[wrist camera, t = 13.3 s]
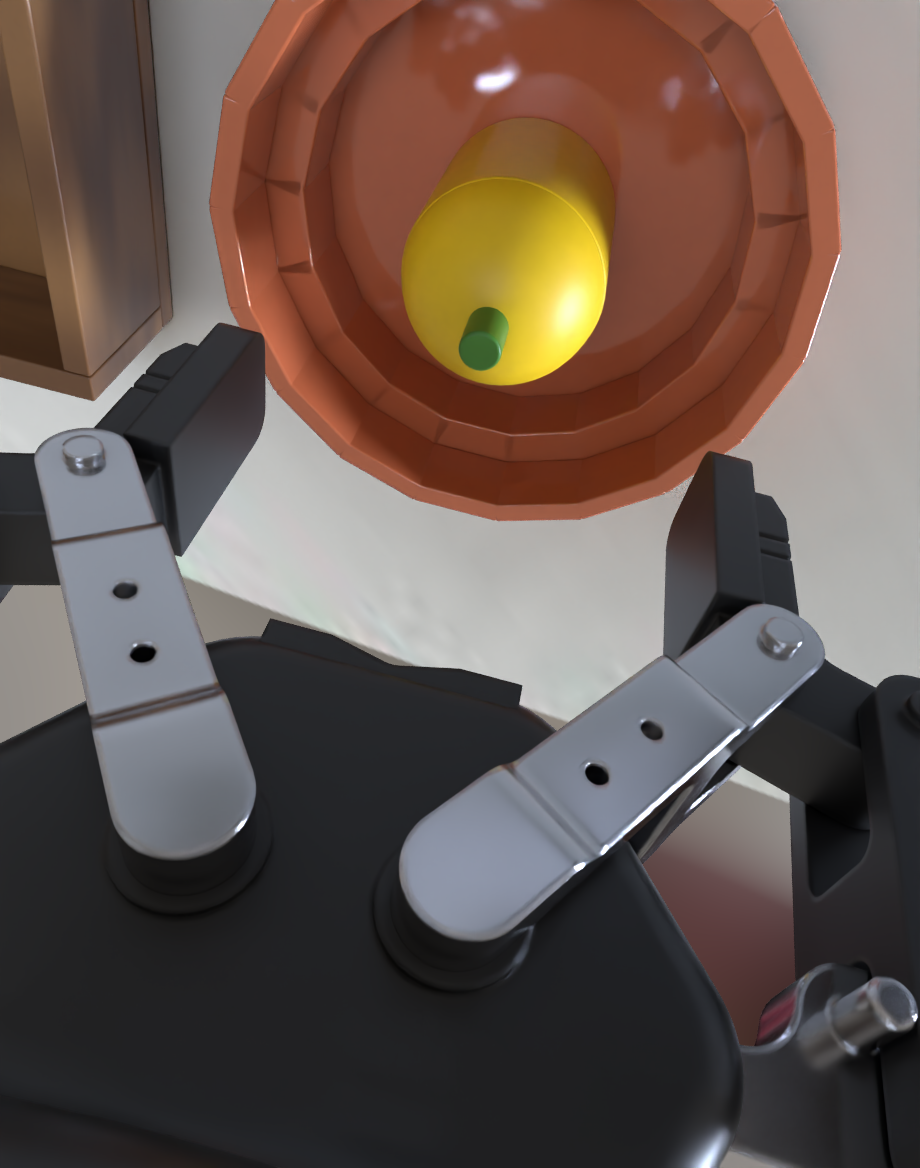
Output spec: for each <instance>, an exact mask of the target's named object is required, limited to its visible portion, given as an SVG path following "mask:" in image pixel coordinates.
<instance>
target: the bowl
mask: <svg viewBox="0 0 920 1168" xmlns="http://www.w3.org/2000/svg"><path fill="white" fill-rule="evenodd" d="M514 118H538V119H544V120H549V121H551V122H554V123H557V124H560V125H562V126H564V127H566V128H568V129H570V130H572V131H573V132H574V133H576V134H577V135H579V136H580V137H581V138H583V139H584V140H585V141H586V142H587V143H588V144H589V145H590V146H591V147H592V148H593V150H594V151H595V152H596V153H597V155H598V156H599V158H600V159H601V161H602V163H603V164H604V166H605V168H606V170H607V172H608V175H609V177H610V180H611V183H612V187H613V191H614V198H615V223H614V232H613V240H612V247H611V255H610V263H609V271H608V279H607V287H606V295H605V301H604V305H603V309H602V313H601V315H600V318H599V320H598V322H597V325H596V326H595V328H594V330H593V332H592V334H591V335H590V337H589V338H588V339H587V340H586V342H585V343H584V344H583V346H582V347H581V348H580V349H579V350H578V351H577V352H576V353H575V354H574V355H573V356H572V357H571V358H570V359H569V360H568V361H567V362H565V363H564V364H563V365H562V366H560V367H559V368H558V369H556V370H554V371H553V372H551V373H549V374H548V375H545V376H543V377H541V378H538V379H536V380H532V381H529V382H525V383H521V384H515V385H489V384H484V383H479V382H475V381H472V380H469V379H467V378H464V377H462V376H460V375H458V374H456V373H454V372H453V371H451V370H449V369H448V368H446V367H445V366H444V365H442V364H441V363H440V362H439V361H438V360H437V359H435V358H434V357H433V356H432V355H431V354H430V352H429V351H428V350H427V349H426V348H425V346H424V345H423V344H422V342H421V341H420V339H419V337H418V336H417V334H416V333H415V331H414V329H413V327H412V325H411V323H410V320H409V317H408V314H407V311H406V308H405V303H404V298H403V293H402V281H401V267H402V257H403V252H404V247H405V244H406V242H407V239H408V236H409V233H410V232H411V230H412V228H413V226H414V224H415V222H416V220H417V218H418V217H419V215H420V213H421V212H422V210H423V208H424V207H425V205H426V203H427V201H428V200H429V198H430V196H431V195H432V193H433V191H434V190H435V188H436V186H437V184H438V183H439V181H440V179H441V178H442V176H443V174H444V173H445V171H446V169H447V167H448V166H449V164H450V162H451V161H452V159H453V158H454V156H455V155H456V153H457V152H458V151H459V149H460V148H461V147H462V146H463V145H464V144H465V143H466V142H467V141H468V140H469V139H470V138H472V137H473V136H474V135H475V134H476V133H478V132H480V131H481V130H483V129H485V128H486V127H488V126H491V125H493V124H495V123H498V122H501V121H505V120H508V119H514ZM209 204H210V214H211V219H212V224H213V229H214V234H215V239H216V244H217V248H218V253H219V258H220V263H221V268H222V273H223V278H224V283H225V288H226V293H227V298H228V303H229V306H230V307H231V308H230V309H231V312H232V313H233V315H234V317H235V319H236V321H237V323H238V324H239V326H240V328H243V329H247V330H251V331H255V332H259V333H261V334H262V335H263V337H264V340H265V374H266V376H267V378H268V379H269V381H270V383H271V385H272V387H273V389H274V390H275V391H277V394H278V395H279V396H280V397H281V398H282V399H283V400H284V401H285V402H286V403H287V404H288V405H289V406H290V407H291V408H292V409H293V410H294V411H295V412H296V413H297V414H298V415H299V417H300V418H301V419H302V420H303V421H304V422H305V423H306V424H307V425H308V426H309V427H310V428H311V429H312V430H313V431H314V432H315V433H316V434H317V435H318V436H319V437H320V438H321V439H322V440H323V441H324V442H325V443H326V444H327V445H328V446H329V447H330V448H331V449H332V450H333V451H334V452H335V453H336V454H337V455H340V458H342V459H344V460H346V461H347V462H349V463H351V464H352V465H354V466H356V467H358V468H359V469H361V470H363V471H365V472H366V473H368V474H370V475H372V476H373V477H375V478H377V479H379V480H380V481H382V482H384V483H386V484H387V485H389V486H391V487H393V488H394V489H396V490H398V491H400V492H401V493H403V494H405V495H407V496H408V497H410V498H412V499H414V498H415V500H417V501H421V502H425V503H429V504H433V505H437V506H441V507H444V508H448V509H452V510H456V511H460V512H464V513H468V514H471V515H475V516H479V517H483V518H487V519H491V520H497V521H525V520H580V519H581V518H582V519H584V518H588V517H591V516H594V515H597V514H601V513H604V512H607V511H610V510H614V509H617V508H620V507H623V506H627V505H630V504H633V503H636V502H640V501H643V500H646V499H649V498H653V497H656V496H659V495H662V494H665V492H666V493H667V492H669V491H670V490H672V489H673V488H675V487H676V486H678V485H679V484H681V483H682V482H684V481H685V480H687V479H688V478H689V477H691V476H692V475H694V474H695V473H696V471H697V469H698V467H699V465H700V463H701V461H702V459H703V457H704V456H705V454H706V453H707V452H708V451H713V452H716V453H720V454H725V453H726V452H728V451H729V450H731V449H732V448H734V447H735V446H737V445H738V444H740V443H741V442H742V441H743V439H745V438H746V437H747V435H748V434H749V433H750V432H751V430H752V429H753V428H754V426H755V425H756V424H757V422H758V421H759V420H760V419H761V417H762V416H763V415H764V413H765V412H766V411H767V410H768V408H769V407H770V406H771V404H772V403H773V402H774V400H775V399H776V398H777V397H778V395H779V394H780V393H781V391H782V390H783V389H784V388H785V386H786V385H787V384H788V382H789V381H790V380H791V378H792V377H793V376H794V375H795V373H796V372H797V371H798V369H799V368H800V367H801V365H802V364H803V363H804V361H805V359H806V357H807V356H808V353H809V350H810V347H811V344H812V341H813V337H814V334H815V331H816V328H817V325H818V322H819V319H820V316H821V313H822V310H823V307H824V304H825V301H826V298H827V295H828V292H829V289H830V286H831V283H832V279H833V276H834V273H835V270H836V267H837V264H838V261H839V258H840V252H841V250H842V249H841V229H840V210H839V190H838V170H837V150H836V131H835V128H834V123H833V121H832V119H831V117H830V115H829V113H828V111H827V109H826V107H825V104H824V102H823V100H822V98H821V96H820V94H819V92H818V90H817V88H816V86H815V84H814V81H813V79H812V77H811V75H810V73H809V71H808V69H807V67H806V65H805V63H804V61H803V58H802V56H801V54H800V52H799V50H798V48H797V46H796V44H795V42H794V40H793V38H792V35H791V33H790V31H789V29H788V27H787V25H786V23H785V21H784V19H783V17H782V15H781V12H780V10H779V8H778V6H777V4H776V2H775V0H275V1H274V3H273V5H272V6H271V8H270V10H269V12H268V14H267V15H266V17H265V19H264V21H263V23H262V25H261V26H260V28H259V30H258V32H257V34H256V35H255V37H254V39H253V41H252V43H251V45H250V46H249V48H248V50H247V52H246V54H245V55H244V57H243V59H242V61H241V63H240V65H239V66H238V68H237V70H236V72H235V74H234V75H233V77H232V79H231V81H230V83H229V85H228V86H227V88H226V90H225V95H224V96H223V103H222V111H221V118H220V126H219V133H218V141H217V148H216V155H215V163H214V170H213V178H212V185H211V193H210V200H209Z"/></svg>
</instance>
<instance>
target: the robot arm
mask: <svg viewBox="0 0 920 1168" xmlns="http://www.w3.org/2000/svg"><path fill="white" fill-rule="evenodd" d="M264 416H265V340H264V337H263V335H262V334H261V333H259V332H255V331H251V330H247V329H243V328H240V327H236V326H232V325H228V324H224V323H218V324H217V325H216V326H215V327H214V328H213V329H212V330H211V331H210V333H209V334H208V335H207V336H206V337H205V338H204V340H203V341H202V342H201V343H200V344H199V345H198V346H196V345H192V344H188V343H184V344H182V345H180V346H178V347H175V348H173V349H171V350H169V351H167V352H165V353H163V354H161V355H160V356H159V357H158V358H157V359H156V360H155V361H154V362H153V364H152V365H151V366H150V367H149V368H148V369H147V370H146V374H142V376H141V377H140V378H139V379H138V380H137V381H136V382H135V383H134V387H131V388H130V389H129V390H128V391H127V392H126V393H125V394H124V395H123V396H122V398H121V399H120V400H119V401H118V402H117V403H116V404H115V405H114V406H113V407H112V409H111V410H110V411H109V412H108V413H107V414H106V415H105V416H104V417H103V418H102V419H101V421H100V422H99V423H98V424H97V425H96V426H95V427H94V428H78V429H72V430H67V431H64V432H60V433H58V434H56V435H53V436H52V437H50V438H48V439H47V440H45V441H44V442H43V443H42V444H41V445H40V446H39V447H38V449H37V451H36V452H35V453H0V603H1V602H2V600H3V599H4V597H5V596H6V595H7V593H8V592H9V591H10V589H11V588H12V587H13V585H61V589H62V593H63V598H64V603H65V607H66V611H67V616H68V620H69V625H70V630H71V634H72V638H73V643H74V648H75V652H76V657H77V661H78V666H79V670H80V675H81V679H82V684H83V688H84V693H85V697H86V701H84V702H82V703H80V704H78V705H76V706H75V707H72V708H70V709H68V710H66V711H64V712H62V713H60V714H58V715H56V716H54V717H52V718H51V719H48V720H46V721H44V722H42V723H40V724H38V725H36V726H34V727H32V728H30V729H28V730H26V731H24V732H23V733H20V734H18V735H16V736H14V737H12V738H10V739H8V740H6V741H4V742H2V743H0V1168H920V678H917V677H913V676H908V675H894V676H890V677H888V678H886V679H884V680H883V681H882V682H881V683H880V684H879V685H878V686H877V687H876V688H875V687H873V686H871V685H869V684H867V683H865V682H864V681H862V680H860V679H858V678H856V677H854V676H852V675H850V674H848V673H846V672H844V671H842V670H841V669H839V668H837V667H836V666H834V665H833V664H831V663H830V662H828V661H827V660H826V659H824V658H825V650H824V646H823V643H822V641H821V639H820V637H819V635H818V634H817V633H816V631H815V630H814V629H813V628H812V627H811V626H810V625H809V624H808V623H807V622H806V621H805V620H803V619H802V618H801V617H799V612H798V604H797V597H796V590H795V582H794V575H793V567H792V561H790V558H791V552H790V545H789V544H788V541H789V537H788V530H787V522H786V518H785V516H784V515H783V513H782V512H781V510H780V509H779V507H778V505H777V504H776V502H775V501H774V499H773V498H772V497H771V496H767V495H764V494H760V493H756V492H755V488H754V478H753V467H752V463H751V462H750V461H747V460H743V459H739V458H736V457H732V456H728V455H724V454H720V453H716V452H713V451H708V452H707V453H706V454H705V456H704V457H703V459H702V461H701V463H700V465H699V467H698V469H697V471H696V473H695V475H694V477H693V479H692V481H691V484H690V486H689V488H688V490H687V492H686V494H685V496H684V498H683V500H682V502H681V504H680V507H679V509H678V511H677V513H676V515H675V517H674V520H673V522H672V525H671V528H670V532H669V536H668V540H667V546H666V573H665V610H664V647H663V656H660V657H658V658H657V659H655V660H654V661H652V662H651V663H650V664H648V665H647V666H646V667H644V668H643V669H641V670H640V671H639V672H637V673H636V674H635V675H633V676H632V677H630V678H629V679H628V680H626V681H625V682H624V683H622V684H621V685H619V686H618V687H617V688H615V689H614V690H613V691H611V692H610V693H609V694H607V695H606V696H604V697H603V698H602V699H600V700H599V701H598V702H596V703H595V704H593V705H592V706H591V707H589V708H588V709H587V710H585V711H584V712H582V713H581V714H580V715H578V716H577V717H576V718H574V719H573V720H571V721H570V722H569V723H567V724H566V725H565V726H563V727H562V728H560V729H559V730H558V731H556V730H555V729H554V728H553V727H552V726H551V725H549V724H548V723H547V722H546V721H544V720H543V719H542V718H540V717H539V716H538V715H536V714H535V713H533V712H532V711H530V710H528V709H527V708H525V707H523V706H521V705H519V702H520V696H521V691H522V685H519V684H515V683H512V682H508V681H504V680H500V679H497V678H493V677H489V676H485V675H482V674H478V673H474V672H470V671H467V670H463V669H454V668H435V667H415V666H398V665H392V664H389V663H386V662H384V661H382V660H380V659H378V658H376V657H374V656H372V655H371V654H369V653H367V652H365V651H363V650H361V649H359V648H357V647H355V646H353V645H351V644H349V643H347V642H345V641H343V640H341V639H339V638H337V637H335V636H333V635H331V634H327V633H323V632H319V631H316V630H312V629H308V628H304V627H301V626H297V625H293V624H289V623H286V622H282V621H278V620H274V619H270V620H269V622H268V624H267V626H266V628H265V630H264V632H263V634H262V636H261V637H258V636H249V637H234V638H228V639H221V640H218V641H213V642H209V643H204V640H203V637H202V634H201V631H200V628H199V625H198V622H197V619H196V617H195V613H194V610H193V608H192V605H191V602H190V599H189V596H188V593H187V590H186V588H185V584H184V581H183V579H182V576H181V573H180V570H179V567H178V564H177V561H176V558H175V555H177V556H180V557H182V555H183V554H184V552H185V551H186V549H187V548H188V546H189V545H190V543H191V541H192V540H193V538H194V537H195V535H196V534H197V532H198V531H199V529H200V528H201V526H202V524H203V523H204V521H205V520H206V518H207V517H208V515H209V514H210V512H211V511H212V509H213V507H214V506H215V504H216V503H217V501H218V500H219V498H220V497H221V495H222V494H223V492H224V490H225V489H226V487H227V486H228V484H229V483H230V481H231V480H232V478H233V477H234V475H235V474H236V472H237V470H238V469H239V467H240V466H241V464H242V463H243V461H244V460H245V458H246V457H247V455H248V453H249V452H250V450H251V449H252V447H253V446H254V444H255V443H256V441H257V439H258V437H259V435H260V432H261V429H262V426H263V421H264ZM741 767H743V768H745V769H746V770H748V771H750V772H752V773H753V774H755V775H757V776H759V777H760V778H762V779H764V780H766V781H767V782H769V783H771V784H773V785H774V786H776V787H778V788H780V789H781V790H783V791H785V792H787V793H788V794H789V795H790V825H791V856H792V885H793V886H792V887H793V917H794V945H795V946H794V948H795V978H796V981H795V982H794V983H793V984H791V985H790V986H788V987H787V988H786V989H784V990H783V991H782V992H780V993H779V994H777V995H776V996H775V997H773V998H772V999H771V1000H770V1001H769V1002H768V1003H767V1004H766V1006H765V1008H764V1009H763V1011H762V1014H761V1017H760V1021H759V1027H758V1034H757V1039H756V1042H755V1045H754V1046H743V1045H739V1043H738V1038H737V1035H736V1031H735V1028H734V1025H733V1022H732V1019H731V1017H730V1015H729V1012H728V1010H727V1008H726V1006H725V1004H724V1002H723V1000H722V998H721V996H720V994H719V993H718V991H717V989H716V987H715V986H714V984H713V982H712V981H711V979H710V977H709V976H708V974H707V972H706V971H705V969H704V967H703V966H702V964H701V962H700V961H699V959H698V957H697V956H696V954H695V952H694V951H693V949H692V947H691V946H690V944H689V942H688V941H687V939H686V937H685V936H684V934H683V932H682V931H681V929H680V927H679V925H678V924H677V922H676V920H675V919H674V917H673V915H672V914H671V912H670V910H669V909H668V907H667V905H666V904H665V902H664V900H663V899H662V897H661V895H660V894H659V892H658V890H657V889H656V887H655V885H654V884H653V882H652V880H651V879H650V877H649V875H648V874H647V872H646V870H645V869H644V867H643V865H642V864H643V863H644V862H645V861H646V860H647V859H648V858H649V857H650V856H651V855H652V854H653V853H654V852H655V851H656V850H657V848H658V847H659V846H660V845H661V844H662V843H663V842H664V841H665V840H666V838H667V837H668V836H669V835H670V834H671V833H672V832H673V831H674V830H675V829H676V828H677V827H678V826H679V825H680V824H681V823H682V822H683V821H684V820H685V819H686V818H687V817H688V816H689V815H691V813H693V812H694V811H695V810H696V809H697V808H698V807H699V806H700V805H701V804H702V803H703V802H704V801H706V800H707V799H708V798H709V797H710V796H711V795H712V794H713V793H714V792H715V791H716V790H717V789H718V788H719V787H720V786H721V785H723V784H724V783H725V782H726V781H727V780H728V779H729V778H730V777H731V776H732V775H733V774H734V773H736V772H737V771H738V770H739V769H740V768H741Z"/></svg>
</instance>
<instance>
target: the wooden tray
mask: <svg viewBox="0 0 920 1168" xmlns="http://www.w3.org/2000/svg"><path fill="white" fill-rule="evenodd" d="M171 319H172V303H171V290H170V278H169V265H168V253H167V240H166V227H165V215H164V202H163V189H162V177H161V164H160V151H159V139H158V126H157V113H156V101H155V88H154V76H153V63H152V50H151V38H150V25H149V12H148V0H0V377H2V378H6V379H10V380H14V381H17V382H21V383H25V384H29V385H33V386H37V387H41V388H44V389H48V390H52V391H56V392H60V393H64V394H68V395H71V396H75V397H79V398H83V399H87V400H91V401H95V400H96V399H97V398H98V397H99V396H100V394H101V393H102V392H103V391H104V390H105V389H106V388H107V387H108V386H109V385H110V384H111V383H112V382H113V381H114V380H115V379H116V377H117V376H118V375H119V374H120V373H121V372H122V371H123V370H124V369H125V368H126V367H127V366H128V365H129V364H130V363H131V362H132V360H133V359H134V358H135V357H136V356H137V355H138V354H139V353H140V352H141V351H142V350H143V349H144V348H145V347H146V346H147V344H148V343H149V342H150V341H151V340H152V339H153V338H154V337H155V336H156V335H157V334H158V333H159V332H160V331H161V330H162V327H164V326H165V325H166V324H167V323H168V322H169V321H170V320H171Z"/></svg>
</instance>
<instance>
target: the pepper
mask: <svg viewBox="0 0 920 1168" xmlns="http://www.w3.org/2000/svg"><path fill="white" fill-rule="evenodd" d="M614 223H615V198H614V191H613V187H612V183H611V180H610V177H609V175H608V172H607V170H606V168H605V166H604V164H603V163H602V161H601V159H600V158H599V156H598V155H597V153H596V152H595V151H594V150H593V148H592V147H591V146H590V145H589V144H588V143H587V142H586V141H585V140H584V139H583V138H581V137H580V136H579V135H577V134H576V133H574V132H573V131H572V130H570V129H568V128H566V127H564V126H562V125H560V124H557V123H554V122H551V121H549V120H544V119H538V118H514V119H508V120H505V121H501V122H498V123H495V124H493V125H491V126H488V127H486V128H485V129H483V130H481V131H480V132H478V133H476V134H475V135H474V136H473V137H472V138H470V139H469V140H468V141H467V142H466V143H465V144H464V145H463V146H462V147H461V148H460V149H459V151H458V152H457V153H456V155H455V156H454V158H453V159H452V161H451V162H450V164H449V166H448V167H447V169H446V171H445V173H444V174H443V176H442V178H441V179H440V181H439V183H438V184H437V186H436V188H435V190H434V191H433V193H432V195H431V196H430V198H429V200H428V201H427V203H426V205H425V207H424V208H423V210H422V212H421V213H420V215H419V217H418V218H417V220H416V222H415V224H414V226H413V228H412V230H411V232H410V233H409V236H408V239H407V242H406V244H405V247H404V252H403V257H402V267H401V281H402V293H403V298H404V303H405V308H406V311H407V314H408V317H409V320H410V323H411V325H412V327H413V329H414V331H415V333H416V334H417V336H418V337H419V339H420V341H421V342H422V344H423V345H424V346H425V348H426V349H427V350H428V351H429V352H430V354H431V355H432V356H433V357H434V358H435V359H437V360H438V361H439V362H440V363H441V364H442V365H444V366H445V367H446V368H448V369H449V370H451V371H453V372H454V373H456V374H458V375H460V376H462V377H464V378H467V379H469V380H472V381H475V382H479V383H484V384H489V385H515V384H521V383H525V382H529V381H532V380H536V379H538V378H541V377H543V376H545V375H548V374H549V373H551V372H553V371H554V370H556V369H558V368H559V367H560V366H562V365H563V364H564V363H565V362H567V361H568V360H569V359H570V358H571V357H572V356H573V355H574V354H575V353H576V352H577V351H578V350H579V349H580V348H581V347H582V346H583V344H584V343H585V342H586V340H587V339H588V338H589V337H590V335H591V334H592V332H593V330H594V328H595V326H596V325H597V322H598V320H599V318H600V315H601V313H602V309H603V305H604V301H605V295H606V287H607V279H608V271H609V263H610V255H611V247H612V240H613V232H614Z"/></svg>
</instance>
